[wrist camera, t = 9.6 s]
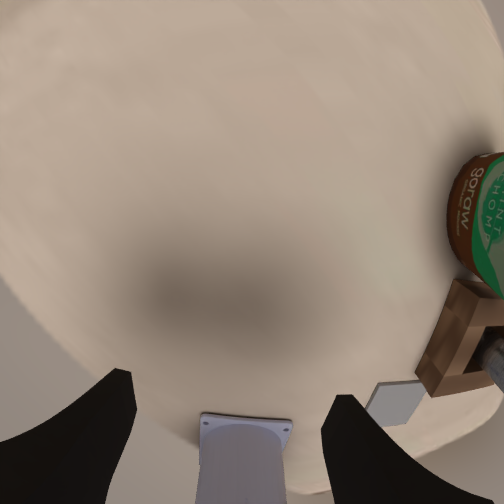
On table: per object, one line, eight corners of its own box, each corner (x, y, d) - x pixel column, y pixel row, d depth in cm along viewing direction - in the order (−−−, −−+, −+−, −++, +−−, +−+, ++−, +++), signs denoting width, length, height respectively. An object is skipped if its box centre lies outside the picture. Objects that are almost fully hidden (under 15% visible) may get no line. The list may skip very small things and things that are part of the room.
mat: (404, 421, 23) (406, 423, 23) (354, 426, 23) (355, 429, 23) (430, 378, 22) (432, 381, 21) (378, 383, 21) (379, 385, 21)
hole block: (476, 365, 21) (493, 384, 18) (414, 372, 21) (431, 397, 18) (511, 286, 19) (534, 301, 15) (453, 278, 18) (479, 297, 15)
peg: (471, 343, 20) (523, 400, 12) (451, 343, 20) (505, 407, 12) (484, 315, 20) (543, 368, 11) (464, 314, 19) (527, 372, 11)
